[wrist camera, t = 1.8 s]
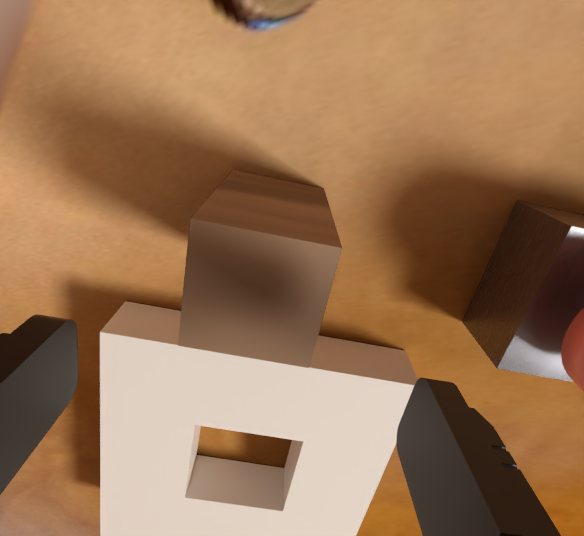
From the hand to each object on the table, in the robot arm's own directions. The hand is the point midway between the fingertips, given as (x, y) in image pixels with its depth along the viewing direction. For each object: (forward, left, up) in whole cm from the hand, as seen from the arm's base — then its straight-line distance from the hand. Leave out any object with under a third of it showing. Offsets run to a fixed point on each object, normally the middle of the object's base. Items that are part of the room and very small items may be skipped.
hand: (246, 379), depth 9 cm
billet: (0, 0, -11) cm, 11 cm away
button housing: (0, +15, -11) cm, 19 cm away
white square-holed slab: (+14, +1, -11) cm, 18 cm away
